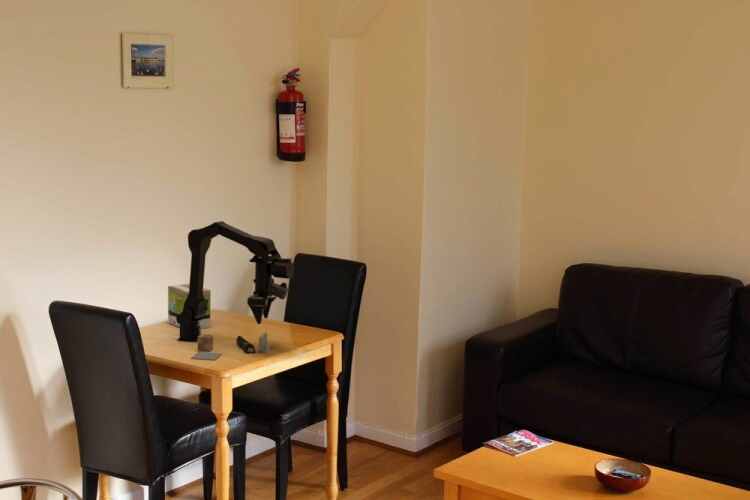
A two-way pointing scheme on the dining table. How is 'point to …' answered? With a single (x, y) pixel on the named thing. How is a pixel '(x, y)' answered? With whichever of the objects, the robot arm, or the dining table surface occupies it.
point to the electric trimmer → (245, 345)
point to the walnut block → (205, 343)
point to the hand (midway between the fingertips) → (262, 321)
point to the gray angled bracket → (263, 343)
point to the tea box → (176, 304)
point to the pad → (206, 356)
